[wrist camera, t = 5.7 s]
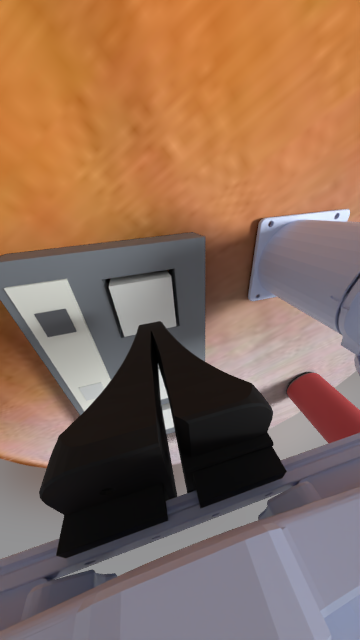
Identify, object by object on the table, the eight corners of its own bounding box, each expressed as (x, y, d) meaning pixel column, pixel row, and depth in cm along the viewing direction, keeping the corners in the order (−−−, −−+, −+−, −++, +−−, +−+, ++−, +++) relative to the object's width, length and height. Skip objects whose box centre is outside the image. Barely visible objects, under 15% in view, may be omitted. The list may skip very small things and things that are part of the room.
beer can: (319, 381, 35) (395, 450, 25) (289, 399, 36) (351, 472, 26) (313, 364, 31) (401, 438, 21) (280, 385, 32) (349, 465, 22)
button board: (192, 232, 15) (206, 237, 12) (198, 404, 29) (205, 424, 26) (5, 254, 13) (-28, 266, 10) (108, 429, 26) (105, 455, 24)
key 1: (164, 265, 15) (171, 276, 13) (169, 309, 18) (176, 326, 15) (111, 273, 15) (108, 286, 12) (124, 318, 17) (124, 336, 15)
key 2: (178, 384, 24) (184, 404, 22) (181, 403, 27) (186, 423, 24) (146, 392, 23) (148, 414, 21) (151, 411, 26) (154, 433, 23)
